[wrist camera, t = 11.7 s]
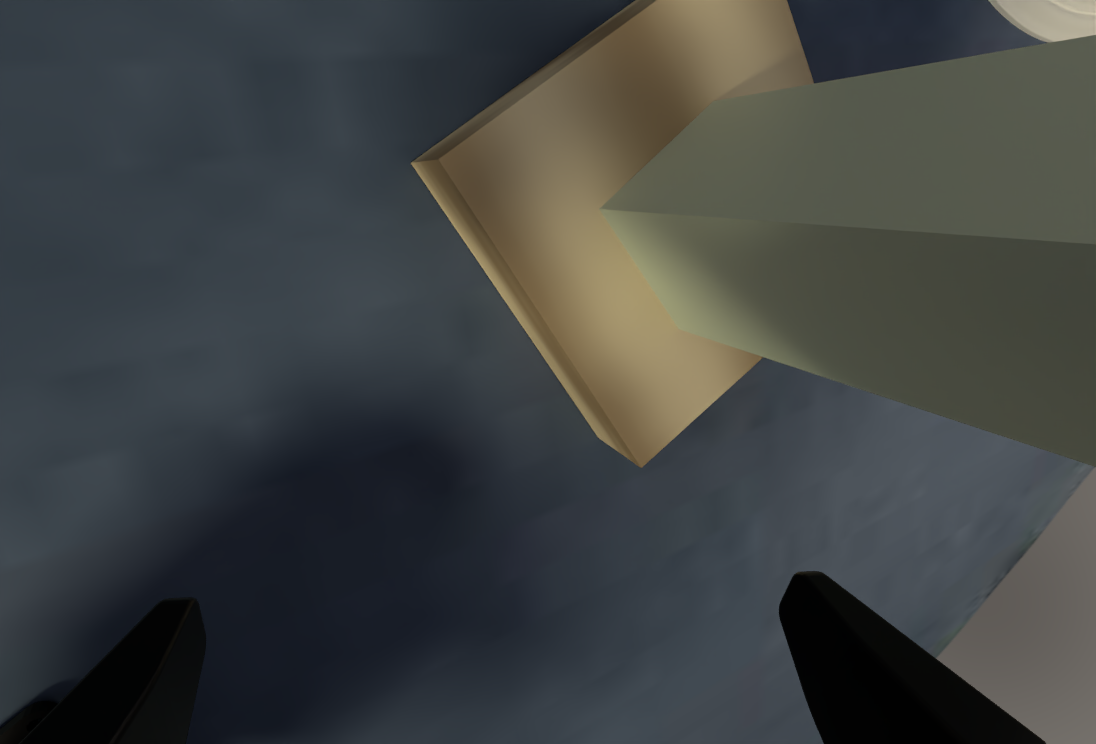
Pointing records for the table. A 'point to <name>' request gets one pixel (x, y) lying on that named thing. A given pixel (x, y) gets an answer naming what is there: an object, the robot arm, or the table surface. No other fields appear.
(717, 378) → the maple base
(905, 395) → the sage pillar
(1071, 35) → the ceiling medallion
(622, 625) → the table surface
